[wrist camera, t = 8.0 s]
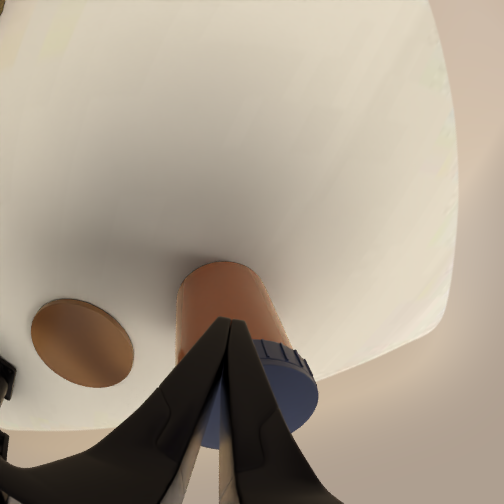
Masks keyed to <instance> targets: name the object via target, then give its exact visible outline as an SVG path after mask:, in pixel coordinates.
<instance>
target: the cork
mask: <svg viewBox="0 0 504 504" xmlns="http://www.w3.org/2000/svg"><path fill="white" fill-rule="evenodd" d="M4 2H5V0H0V15H1V13H2V10H3V6H4Z"/></svg>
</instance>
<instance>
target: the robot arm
mask: <svg viewBox="0 0 504 504" xmlns="http://www.w3.org/2000/svg"><path fill="white" fill-rule="evenodd" d="M230 325H231V326H230ZM222 371H223V372H222ZM15 376H16V369H15V368H14V367H13V366H11V365H10V364H8V363H7V362H5V361H4V360H2V359H1V358H0V407H1V405H2V402H3V400H4V398H5V399H6V400H10V399H11V396H12V391H13V386H14V381H15ZM221 377H222V378H221ZM220 382H221V389H220V432H219V504H344V503H342V502H341V501H340V500H338V499H337V498H336V497H334V496H333V495H332V494H331V493H330V492H328V491H327V489H326V488H325V487H324V486H323V485H322V484H321V482H320V481H319V479H318V478H317V476H316V475H315V473H314V472H313V470H312V468H311V467H310V465H309V463H308V462H307V460H306V459H305V457H304V455H303V454H302V452H301V450H300V449H299V447H298V445H297V444H296V442H295V440H294V438H293V436H292V434H291V433H290V430H289V428H288V426H287V424H286V422H285V420H284V417H283V415H282V412H281V410H280V408H279V405H278V403H277V401H276V398H275V396H274V393H273V391H272V388H271V386H270V383H269V381H268V378H267V376H266V373H265V371H264V368H263V366H262V363H261V361H260V358H259V355H258V353H257V350H256V348H255V345H254V343H253V340H252V337H251V335H250V332H249V330H248V327H247V324H246V322H245V321H244V320H239V319H232V321H231V319H230V318H227V317H222V316H219V317H217V318H216V319H215V321H214V322H213V323H212V324H211V325H210V327H209V328H208V329H207V330H206V331H205V332H204V334H203V335H202V336H201V337H200V338H199V340H198V341H197V342H196V343H195V344H194V345H193V347H192V348H191V349H190V350H189V351H188V353H187V354H186V355H185V356H184V357H183V358H182V360H181V361H180V362H179V363H178V364H177V365H176V367H175V368H174V369H173V370H172V371H171V372H170V374H169V375H168V376H167V377H166V378H165V379H164V381H163V382H162V383H161V384H160V385H159V387H158V388H157V389H156V390H155V391H154V392H153V393H152V394H151V396H150V397H149V398H148V399H147V400H146V401H145V402H144V403H143V404H142V405H141V406H140V407H139V408H138V409H137V410H136V411H135V412H134V413H133V414H132V415H131V416H129V417H128V418H127V419H126V420H125V421H124V422H123V423H121V424H120V425H119V426H118V427H117V428H115V429H114V430H113V431H112V432H111V433H109V435H107V436H106V437H105V438H104V439H102V440H101V441H100V442H98V443H97V444H96V445H94V446H93V447H91V448H90V449H88V450H86V451H84V452H82V453H79V454H76V455H73V456H70V457H67V458H64V459H60V460H57V461H54V462H51V463H47V464H44V465H40V466H37V467H32V468H20V467H16V466H13V465H11V464H9V463H8V462H7V451H8V441H9V435H7V434H6V433H3V432H2V431H1V430H0V504H182V502H183V499H184V495H185V493H186V489H187V486H188V483H189V480H190V477H191V474H192V471H193V468H194V465H195V461H196V458H197V455H198V452H199V449H200V446H201V443H202V440H203V437H204V433H205V430H206V427H207V424H208V421H209V418H210V415H211V411H212V408H213V405H214V402H215V399H216V396H217V392H218V389H219V386H220Z"/></svg>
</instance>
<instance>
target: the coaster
mask: <svg viewBox="0 0 504 504" xmlns="http://www.w3.org/2000/svg"><path fill="white" fill-rule="evenodd" d="M31 337H32V341H33V344H34V347H35V349H36V351H37V353H38V355H39V356H40V358H41V359H42V360H43V361H44V363H45V364H46V365H47V366H48V367H49V368H50V369H51V370H53V371H54V372H55V373H56V374H58V375H59V376H61V377H63V378H64V379H66V380H68V381H70V382H73V383H75V384H78V385H82V386H86V387H93V388H102V387H109V386H113V385H115V384H117V383H119V382H121V381H122V380H124V379H125V378H126V377H127V375H128V374H129V372H130V371H131V368H132V364H133V358H134V354H133V347H132V344H131V341H130V339H129V337H128V335H127V333H126V332H125V330H124V329H123V328H122V327H121V325H120V324H119V323H118V322H117V321H116V320H115V319H114V318H112V317H111V316H110V315H109V314H107V313H106V312H104V311H103V310H101V309H99V308H97V307H95V306H93V305H91V304H88V303H86V302H82V301H78V300H73V299H60V300H55V301H52V302H49V303H47V304H46V305H44V306H43V307H42V308H41V309H40V310H39V311H38V312H37V314H36V315H35V317H34V319H33V321H32V326H31Z"/></svg>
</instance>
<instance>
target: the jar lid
mask: <svg viewBox="0 0 504 504" xmlns="http://www.w3.org/2000/svg"><path fill="white" fill-rule="evenodd" d="M252 340H253V343H254V345H255V348H256V350H257V353H258V355H259V358H260V361H261V363H262V366H263V368H264V371H265V373H266V376H267V378H268V381H269V383H270V386H271V388H272V391H273V393H274V396H275V398H276V401H277V403H278V405H279V408H280V410H281V412H282V415H283V417H284V420H285V422H286V424H287V426H288V428H289V430H290V433H292V432H294V431H295V430H297V429H298V428H299V427H301V426H302V425H303V424H304V423H305V422H306V421H307V420H308V419H309V418H310V416H311V415H312V414H313V412H314V410H315V408H316V406H317V403H318V390H317V384H316V382H315V380H314V378H313V374H312V372H311V370H310V368H309V366H308V364H307V362H306V360H305V359H303V358H302V357H301V356H300V355H299V354H298V352H297V350H292V349H291V348H289V347H287V346H285V345H283V343H281V342H280V343H277V342H273V341H267V340H264V339H261V340H259V339H252ZM222 372H223V371H222ZM221 378H222V377H221ZM220 389H221V382H220V386H219V389H218V392H217V396H216V399H215V402H214V405H213V408H212V411H211V415H210V418H209V421H208V424H207V427H206V430H205V433H204V437H203V440H202V443H201V446H203V447H207V448H212V449H218V450H219V432H220Z"/></svg>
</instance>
